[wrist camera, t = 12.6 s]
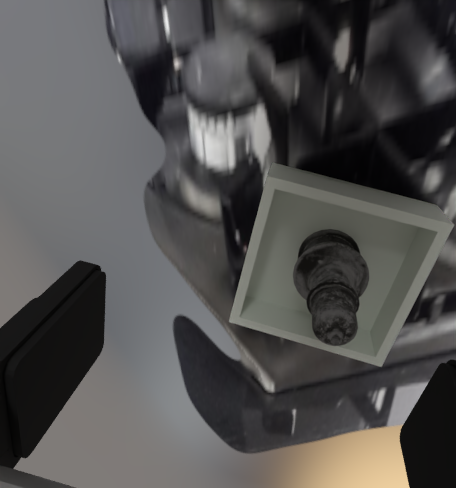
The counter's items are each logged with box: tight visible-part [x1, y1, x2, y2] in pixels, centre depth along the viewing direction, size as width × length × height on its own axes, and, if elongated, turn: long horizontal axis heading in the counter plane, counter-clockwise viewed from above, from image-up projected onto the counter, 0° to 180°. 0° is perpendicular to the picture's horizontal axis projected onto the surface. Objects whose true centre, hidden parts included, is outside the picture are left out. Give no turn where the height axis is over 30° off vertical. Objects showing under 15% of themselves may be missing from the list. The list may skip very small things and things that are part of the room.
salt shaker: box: [293, 229, 369, 346], centre depth 29 cm, size 6×6×12 cm
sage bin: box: [229, 162, 454, 367], centre depth 33 cm, size 14×14×4 cm
